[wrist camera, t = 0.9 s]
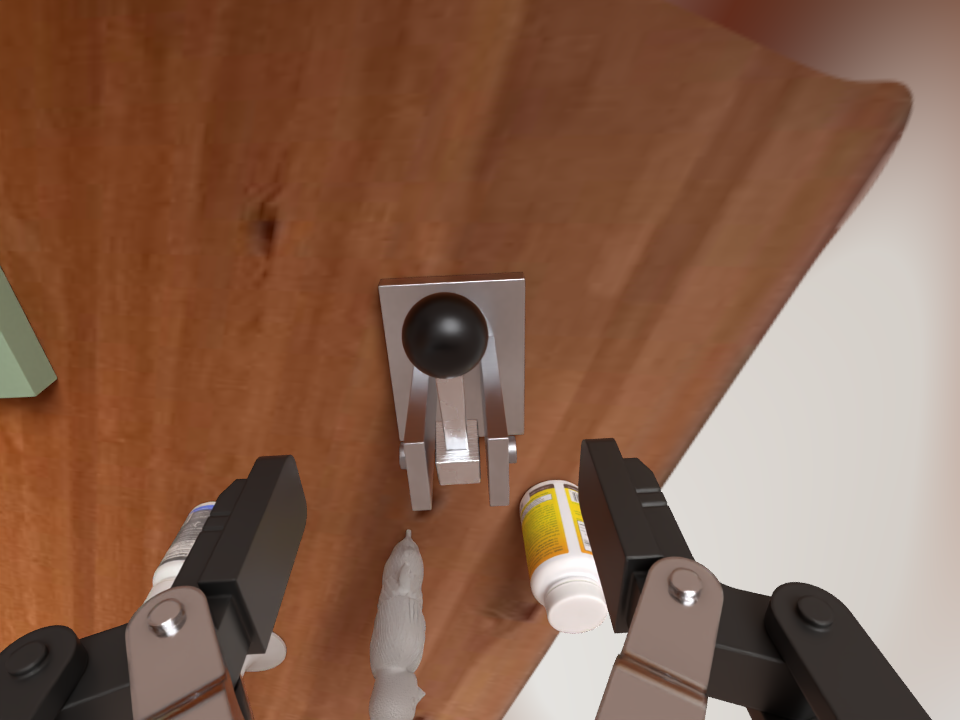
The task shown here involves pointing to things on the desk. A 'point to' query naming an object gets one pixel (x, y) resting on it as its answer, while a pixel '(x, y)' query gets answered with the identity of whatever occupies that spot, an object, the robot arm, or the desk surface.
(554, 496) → the supplement bottle
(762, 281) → the desk surface
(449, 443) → the lever handle
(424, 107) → the desk surface
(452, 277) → the lever stand
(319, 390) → the desk surface
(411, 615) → the figurine
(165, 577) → the pill bottle
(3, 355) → the button block
